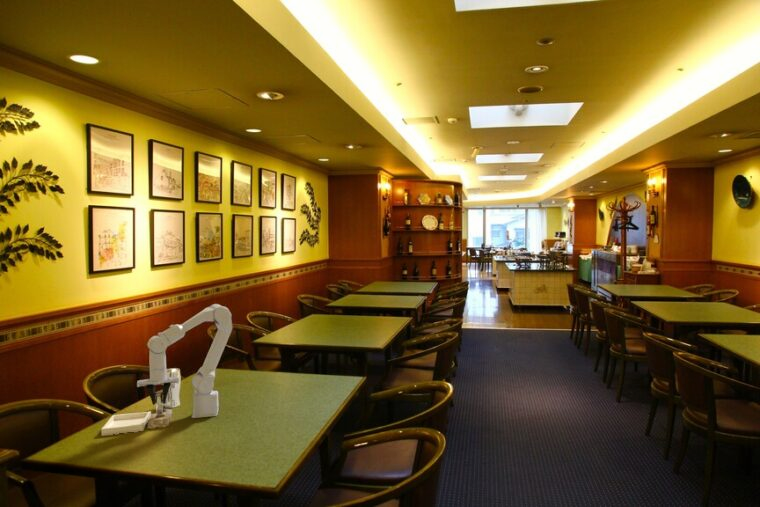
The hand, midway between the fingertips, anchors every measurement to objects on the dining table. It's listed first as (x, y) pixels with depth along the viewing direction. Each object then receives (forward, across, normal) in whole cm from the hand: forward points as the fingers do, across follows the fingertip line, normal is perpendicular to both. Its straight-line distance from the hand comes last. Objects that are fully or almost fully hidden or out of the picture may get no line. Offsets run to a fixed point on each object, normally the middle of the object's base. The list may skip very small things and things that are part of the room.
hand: (159, 403), depth 179 cm
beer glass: (+8, +1, +20) cm, 22 cm away
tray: (+8, -12, +1) cm, 14 cm away
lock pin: (+4, 0, 0) cm, 4 cm away
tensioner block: (+8, 0, +3) cm, 9 cm away
